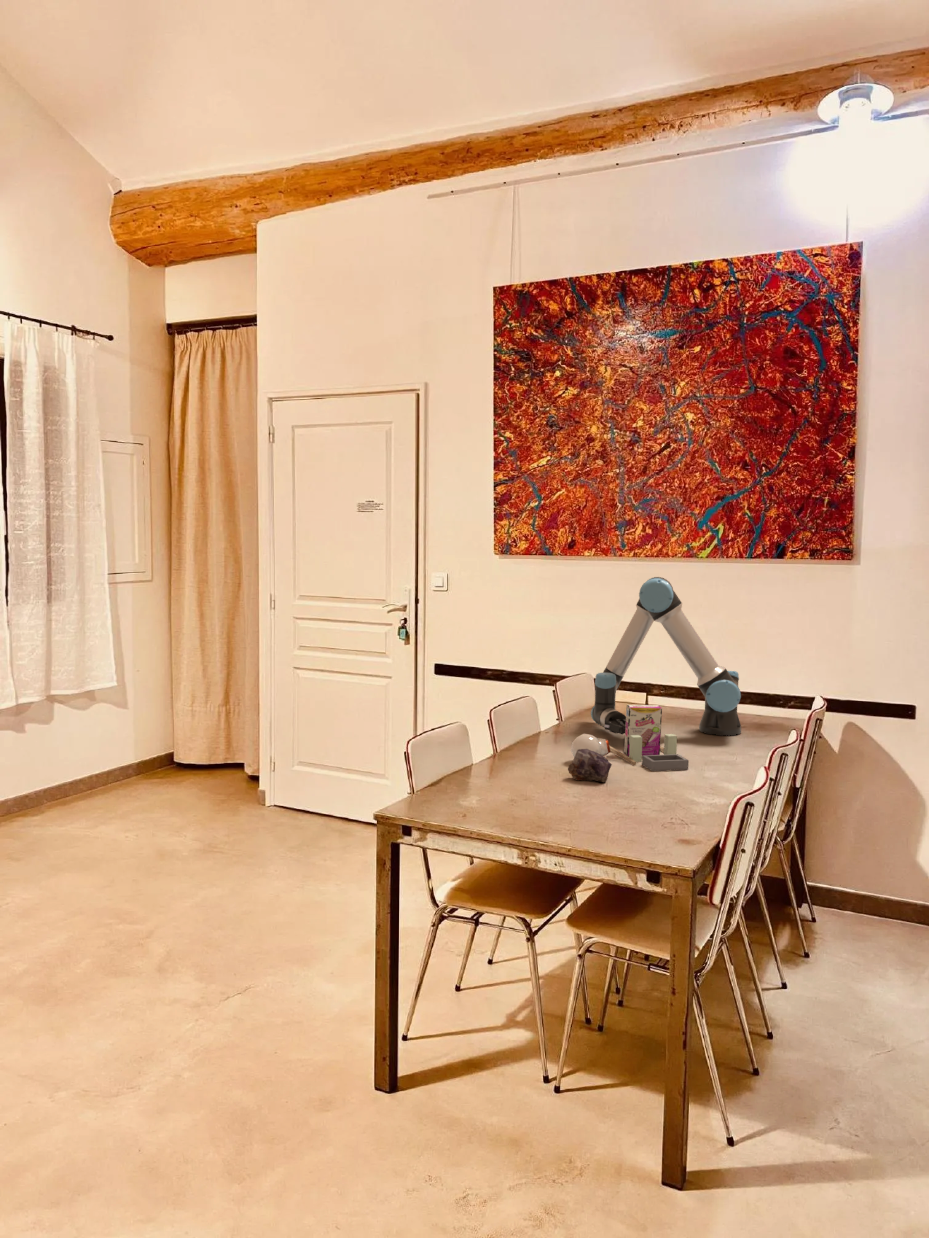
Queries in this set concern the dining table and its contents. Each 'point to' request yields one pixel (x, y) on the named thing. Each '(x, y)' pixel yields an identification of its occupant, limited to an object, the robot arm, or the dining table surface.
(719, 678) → the robot arm
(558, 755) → the dining table surface
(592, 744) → the potion bottle
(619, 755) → the lane rails
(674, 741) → the posts
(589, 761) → the rock
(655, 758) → the tray
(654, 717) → the candy bar box
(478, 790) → the dining table surface
